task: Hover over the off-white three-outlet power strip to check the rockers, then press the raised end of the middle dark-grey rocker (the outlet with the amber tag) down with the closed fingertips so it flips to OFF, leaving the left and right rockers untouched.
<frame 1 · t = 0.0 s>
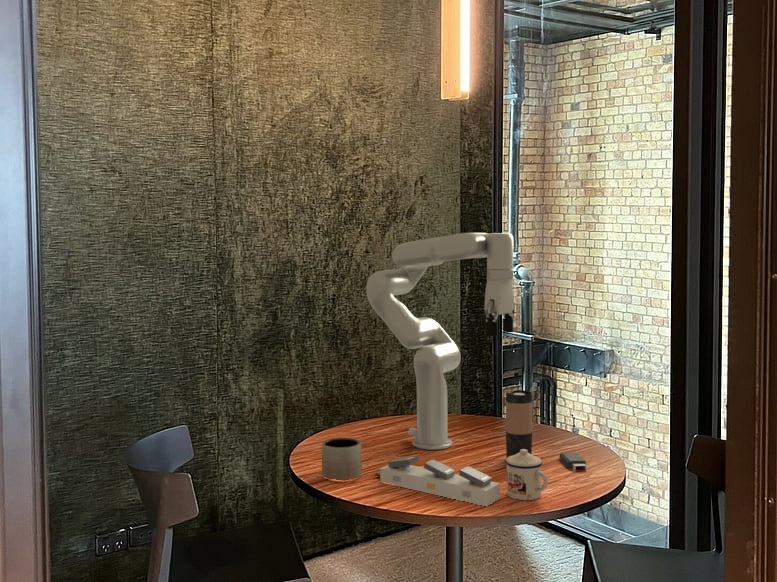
hand: (500, 333, 225), 37 cm above the table, tool pointing down, fingers open, 9 cm apart
power strip: (438, 490, 198), on the table
travel mug: (518, 461, 224), on the table
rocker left: (403, 461, 204), point 6 cm above the table, hinge at -15.0°
rocker right: (475, 476, 191), point 6 cm above the table, hinge at 15.0°
planter: (341, 477, 211), on the table
teacup with lid: (528, 497, 193), on the table
rocker middle: (439, 469, 197), point 6 cm above the table, hinge at 15.0°
usb drive: (574, 466, 219), on the table
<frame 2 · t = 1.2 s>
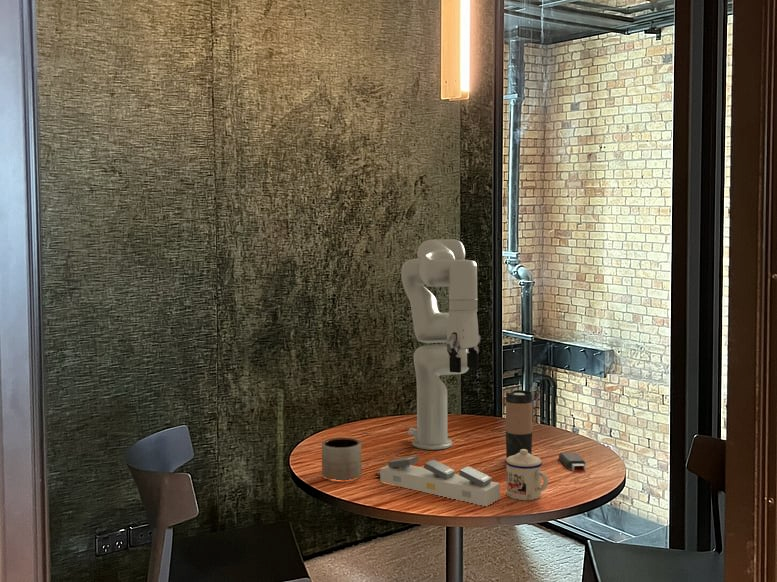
hand: (464, 369, 206), 30 cm above the table, tool pointing down, fingers open, 9 cm apart
nothing on the table moved.
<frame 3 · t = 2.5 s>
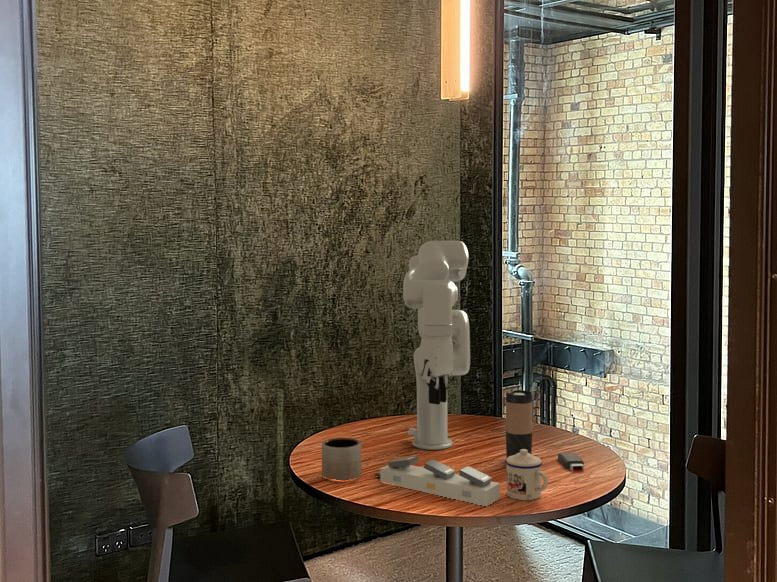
hand: (437, 402, 196), 23 cm above the table, tool pointing down, fingers closed
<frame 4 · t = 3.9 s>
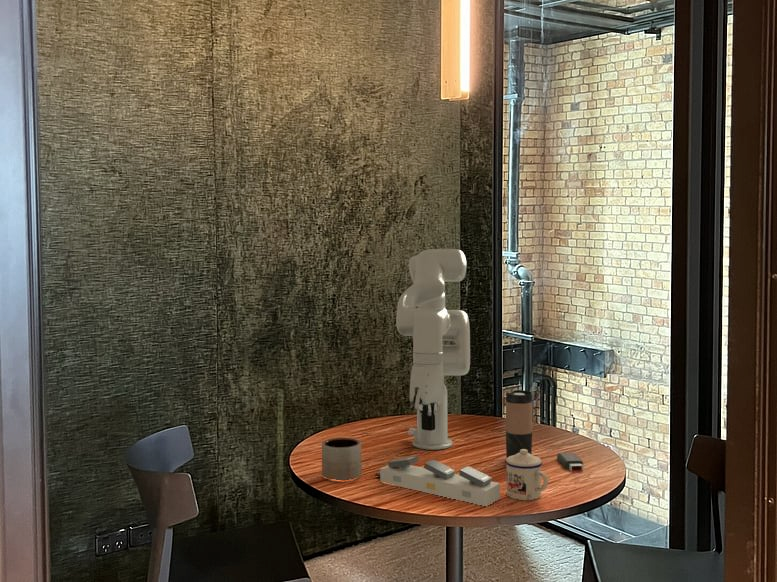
hand: (428, 429, 198), 16 cm above the table, tool pointing down, fingers closed
nothing on the table moved.
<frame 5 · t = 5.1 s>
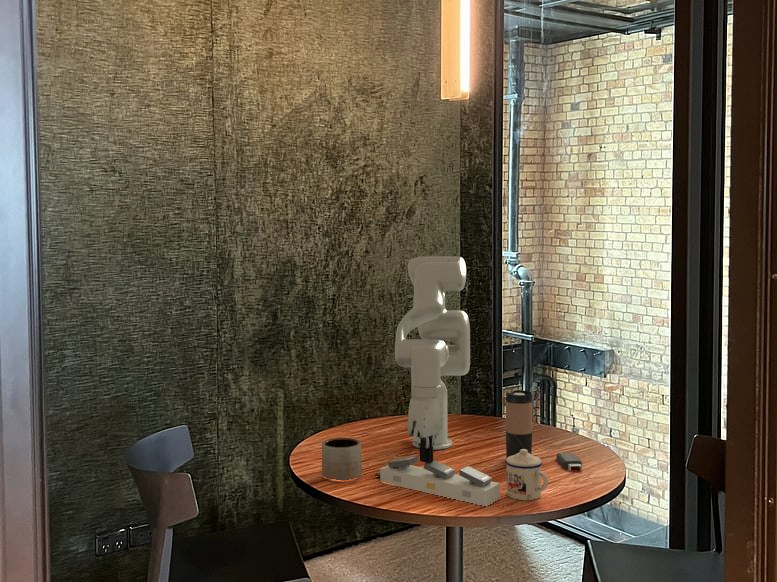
hand: (426, 461, 199), 7 cm above the table, tool pointing down, fingers closed
rocker middle: (439, 468, 197), point 6 cm above the table, hinge at 12.7°, touching gripper
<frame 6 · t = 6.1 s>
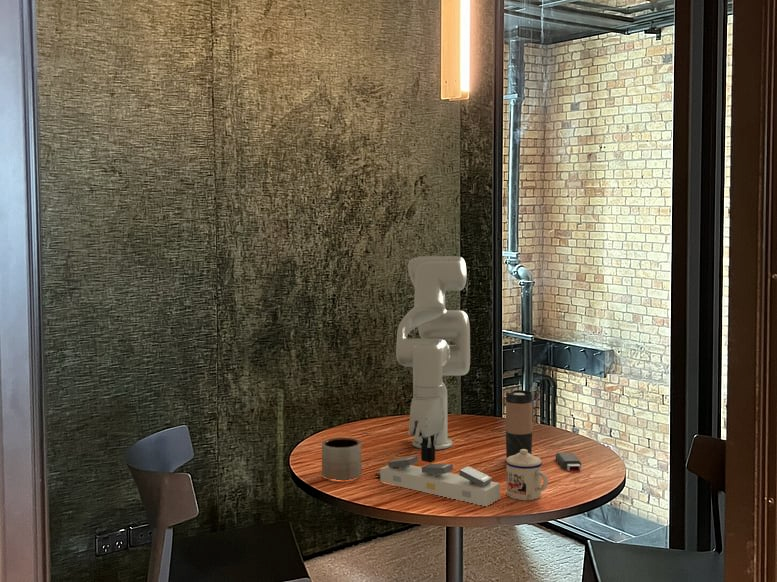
hand: (428, 460, 200), 7 cm above the table, tool pointing down, fingers closed
rocker middle: (437, 468, 198), point 6 cm above the table, hinge at -7.8°
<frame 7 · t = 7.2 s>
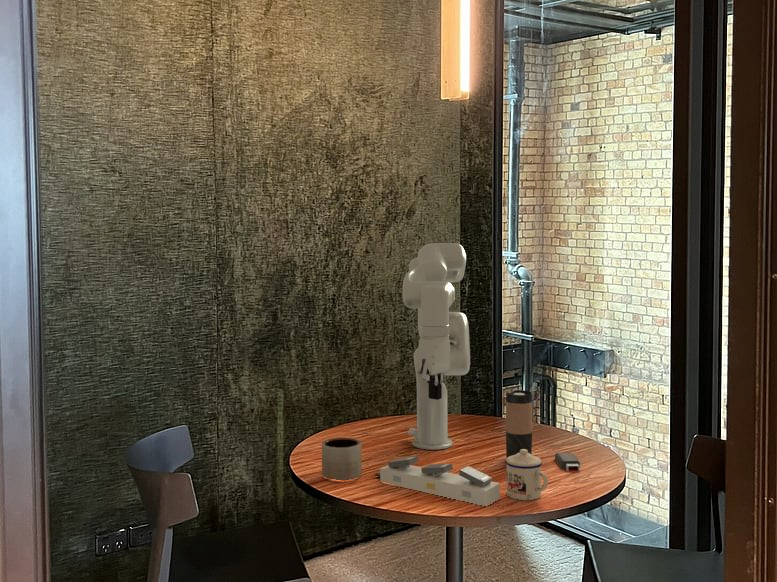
hand: (435, 398, 207), 22 cm above the table, tool pointing down, fingers closed
rocker middle: (436, 468, 198), point 6 cm above the table, hinge at -11.3°
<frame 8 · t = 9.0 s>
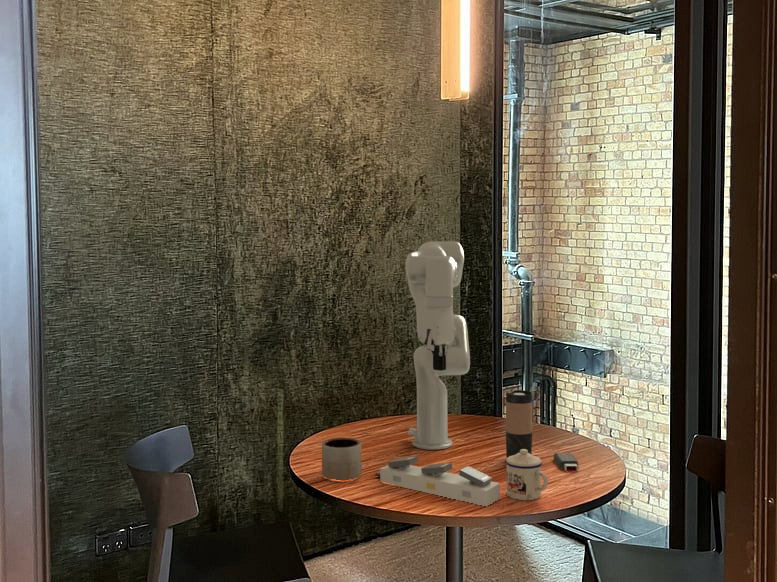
hand: (439, 369, 210), 29 cm above the table, tool pointing down, fingers closed
rocker middle: (436, 468, 198), point 6 cm above the table, hinge at -12.5°
at the end: rocker middle at -12° (first picture: +15°); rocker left at -15° (first picture: -15°); rocker right at +15° (first picture: +15°) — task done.
